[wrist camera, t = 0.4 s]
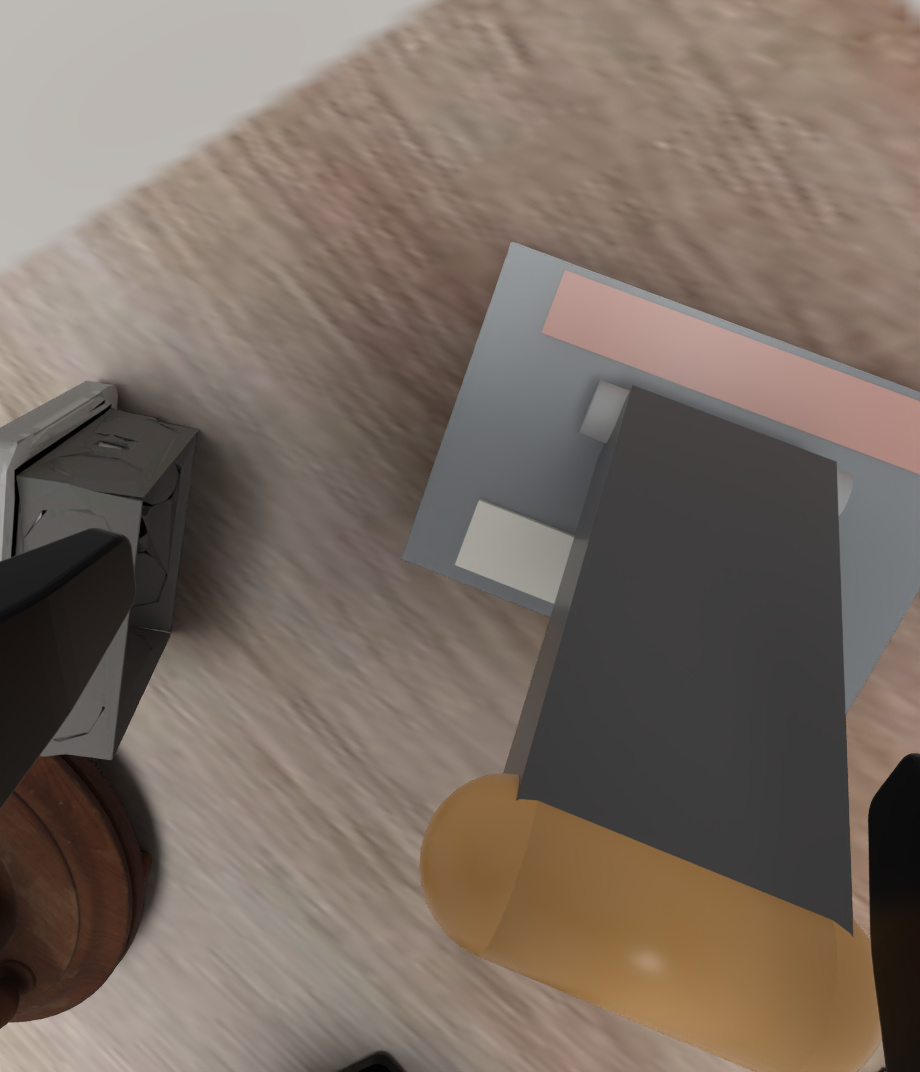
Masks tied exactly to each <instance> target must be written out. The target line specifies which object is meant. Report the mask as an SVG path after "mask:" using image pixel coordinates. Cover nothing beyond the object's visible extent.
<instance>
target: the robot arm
mask: <svg viewBox="0 0 920 1072" xmlns="http://www.w3.org/2000/svg"><path fill="white" fill-rule="evenodd" d="M135 595H136V581H135V572H134V563H133V553H132V546H131V542H130V540H129V539H128V537H126V536H125V535H123V534H120V533H116V532H112V531H109V530H105V529H101V528H90V529H86V530H84V531H81V532H78V533H76V534H73V535H70V536H67V537H65V538H62V539H59V540H57V541H54V542H51V543H49V544H46V545H43V546H40V547H38V548H35V549H32V550H30V551H27V552H24V553H22V554H19V555H16V556H13V557H11V558H8V559H5V560H3V561H0V809H1V808H2V806H3V805H4V804H5V802H6V801H7V800H8V798H9V797H10V796H11V794H12V793H13V791H14V790H15V789H16V787H17V786H18V785H19V783H20V782H21V780H22V779H23V778H24V776H25V775H26V774H27V772H28V771H29V770H30V768H31V767H32V765H33V764H34V763H35V761H36V760H37V759H38V757H39V756H40V755H41V753H42V752H43V750H44V749H45V748H46V746H47V745H48V744H49V742H50V741H51V740H52V738H53V737H54V735H55V734H56V733H57V731H58V730H59V729H60V727H61V726H62V724H63V723H64V721H65V720H66V718H67V717H68V716H69V714H70V713H71V711H72V709H73V708H74V706H75V705H76V703H77V701H78V700H79V698H80V696H81V695H82V693H83V691H84V689H85V688H86V686H87V684H88V683H89V681H90V679H91V677H92V676H93V674H94V672H95V670H96V669H97V667H98V665H99V663H100V662H101V660H102V658H103V656H104V655H105V653H106V651H107V649H108V648H109V646H110V644H111V642H112V641H113V639H114V637H115V635H116V634H117V632H118V630H119V629H120V627H121V625H122V623H123V622H124V620H125V618H126V616H127V615H128V613H129V611H130V609H131V607H132V605H133V602H134V599H135ZM868 834H869V894H870V938H871V955H872V964H873V973H874V981H875V989H876V996H877V1004H878V1012H879V1019H880V1027H881V1034H882V1042H883V1049H884V1057H885V1064H886V1072H920V754H918V753H911V754H909V755H907V756H905V757H904V758H903V759H902V760H901V761H900V763H899V764H898V765H897V767H896V768H895V769H894V771H893V772H892V773H891V774H890V776H889V777H888V778H887V780H886V781H885V782H884V784H883V785H882V786H881V788H880V789H879V790H878V792H877V793H876V794H875V796H874V798H873V800H872V802H871V805H870V808H869V815H868ZM343 1072H401V1071H400V1070H399V1068H398V1067H397V1066H396V1065H395V1064H394V1063H393V1062H392V1061H391V1060H390V1059H389V1058H388V1057H386V1056H383V1055H377V1056H373V1057H371V1058H369V1059H367V1060H365V1061H363V1062H361V1063H359V1064H357V1065H355V1066H353V1067H351V1068H349V1069H347V1070H345V1071H343Z"/></svg>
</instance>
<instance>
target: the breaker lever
mask: <svg viewBox="0 0 920 1072" xmlns="http://www.w3.org/2000/svg"><path fill="white" fill-rule="evenodd" d="M579 433H580V434H582V435H585V436H588V437H590V438H593V439H595V440H598V441H601V442H603V443H605V445H604V447H603V449H602V451H601V453H600V455H599V457H598V460H597V463H596V467H595V470H594V473H593V477H592V480H591V483H590V487H589V490H588V493H587V497H586V500H585V503H584V506H583V510H582V513H581V516H580V520H579V523H578V526H577V530H576V533H575V536H574V540H573V543H572V546H571V550H570V553H569V556H568V560H567V563H566V566H565V570H564V573H563V576H562V580H561V583H560V586H559V590H558V593H557V596H556V600H555V603H554V606H553V610H552V613H551V616H550V620H549V623H548V626H547V630H546V633H545V636H544V640H543V643H542V646H541V650H540V653H539V656H538V660H537V663H536V666H535V670H534V673H533V676H532V680H531V683H530V686H529V690H528V693H527V696H526V700H525V703H524V706H523V710H522V713H521V716H520V720H519V723H518V726H517V730H516V733H515V736H514V740H513V743H512V746H511V750H510V753H509V756H508V759H507V763H506V766H505V769H504V773H500V774H492V775H486V776H483V777H480V778H477V779H474V780H471V781H470V782H468V783H466V784H465V785H463V786H461V787H460V788H458V789H456V790H455V791H454V792H453V793H452V794H451V795H450V796H449V797H448V798H446V799H445V800H444V801H443V803H442V804H441V805H440V807H439V808H438V810H437V811H436V812H435V814H434V815H433V817H432V819H431V821H430V823H429V825H428V827H427V829H426V832H425V836H424V839H423V843H422V847H421V856H420V875H421V885H422V889H423V892H424V895H425V899H426V902H427V905H428V907H429V909H430V911H431V913H432V915H433V917H434V919H435V920H436V922H437V923H438V924H439V925H440V927H441V928H442V929H443V931H444V932H445V933H446V934H447V935H448V936H449V937H450V938H451V939H452V940H453V941H455V942H456V943H457V944H458V945H459V946H460V947H462V948H464V949H466V950H468V951H469V952H471V953H473V954H475V955H477V956H479V957H481V958H484V959H486V960H488V961H491V962H493V963H496V964H498V965H500V966H503V967H505V968H508V969H510V970H512V971H515V972H517V973H520V974H522V975H524V976H527V977H529V978H531V979H534V980H536V981H539V982H541V983H543V984H546V985H548V986H551V987H553V988H555V989H558V990H560V991H563V992H565V993H567V994H570V995H572V996H575V997H577V998H579V999H582V1000H584V1001H587V1002H589V1003H591V1004H594V1005H596V1006H599V1007H601V1008H603V1009H606V1010H608V1011H610V1012H613V1013H615V1014H618V1015H620V1016H622V1017H625V1018H627V1019H630V1020H632V1021H634V1022H637V1023H639V1024H642V1025H644V1026H646V1027H649V1028H651V1029H654V1030H656V1031H658V1032H661V1033H663V1034H666V1035H668V1036H670V1037H673V1038H675V1039H678V1040H680V1041H682V1042H685V1043H687V1044H689V1045H692V1046H694V1047H697V1048H699V1049H701V1050H704V1051H706V1052H709V1053H711V1054H713V1055H716V1056H718V1057H721V1058H723V1059H725V1060H728V1061H730V1062H733V1063H735V1064H737V1065H740V1066H742V1067H745V1068H747V1069H749V1070H752V1071H754V1072H857V1071H858V1070H859V1069H860V1068H862V1067H863V1066H864V1065H865V1064H866V1062H867V1061H868V1060H869V1059H870V1058H871V1056H872V1055H873V1054H874V1052H875V1051H876V1050H877V1048H878V1046H879V1044H880V1042H881V1040H882V1034H881V1027H880V1019H879V1012H878V1004H877V996H876V989H875V981H874V973H873V964H872V955H871V942H870V940H869V938H868V937H867V935H866V934H865V932H864V931H863V930H862V929H861V927H860V926H859V925H858V924H857V923H856V922H855V920H854V919H853V910H852V882H851V854H850V825H849V797H848V768H847V740H846V712H845V683H844V655H843V627H842V598H841V570H840V542H839V516H840V514H841V513H842V511H843V510H844V508H845V506H846V504H847V502H848V499H849V497H850V494H851V491H852V486H853V477H852V475H851V474H850V473H847V472H845V471H842V470H839V469H837V462H836V461H833V460H831V459H828V458H825V457H823V456H820V455H818V454H815V453H812V452H810V451H807V450H804V449H802V448H799V447H796V446H794V445H791V444H788V443H786V442H783V441H780V440H778V439H775V438H772V437H770V436H767V435H764V434H762V433H759V432H756V431H754V430H751V429H748V428H746V427H743V426H740V425H738V424H735V423H732V422H730V421H727V420H724V419H722V418H719V417H716V416H714V415H711V414H708V413H706V412H703V411H700V410H698V409H695V408H693V407H690V406H687V405H685V404H682V403H679V402H677V401H674V400H671V399H669V398H666V397H663V396H661V395H658V394H655V393H653V392H650V391H647V390H645V389H642V388H639V387H637V386H634V385H632V387H631V389H630V391H629V390H627V389H624V388H621V387H619V386H616V385H614V384H611V383H608V382H606V381H603V380H600V381H599V383H598V386H597V388H596V390H595V392H594V395H593V397H592V400H591V402H590V404H589V407H588V409H587V412H586V415H585V417H584V420H583V423H582V425H581V428H580V431H579Z"/></svg>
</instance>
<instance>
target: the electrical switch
mask: <svg viewBox="0 0 920 1072" xmlns="http://www.w3.org/2000/svg"><path fill="white" fill-rule="evenodd" d="M117 404H118V392H117V389H116V386H115V385H111V384H104V383H97V382H91V381H85V382H84V383H82V384H80V385H78V386H76V387H74V388H73V389H71V390H69V391H67V392H65V393H63V394H62V395H60V396H58V397H56V398H54V399H52V400H50V401H49V402H47V403H45V404H43V405H41V406H39V407H38V408H36V409H34V410H32V411H30V412H28V413H27V414H25V415H23V416H21V417H19V418H17V419H16V420H14V421H12V422H10V423H8V424H6V425H4V426H3V427H1V428H0V561H3V560H5V559H8V558H11V557H13V556H16V555H19V554H22V553H24V552H27V551H30V550H32V549H35V548H38V547H40V546H43V545H46V544H49V543H51V542H54V541H57V540H59V539H62V538H65V537H67V536H70V535H73V534H76V533H78V532H81V531H84V530H86V529H90V528H101V529H105V530H109V531H112V532H116V533H120V534H123V535H125V536H126V537H128V539H129V540H130V542H131V546H132V553H133V563H134V572H135V581H136V595H135V599H134V602H133V605H132V607H131V609H130V611H129V613H128V615H127V616H126V618H125V620H124V622H123V623H122V625H121V627H120V629H119V630H118V632H117V634H116V635H115V637H114V639H113V641H112V642H111V644H110V646H109V648H108V649H107V651H106V653H105V655H104V656H103V658H102V660H101V662H100V663H99V665H98V667H97V669H96V670H95V672H94V674H93V676H92V677H91V679H90V681H89V683H88V684H87V686H86V688H85V689H84V691H83V693H82V695H81V696H80V698H79V700H78V701H77V703H76V705H75V706H74V708H73V709H72V711H71V713H70V714H69V716H68V717H67V718H66V720H65V721H64V723H63V724H62V726H61V727H60V729H59V730H58V731H57V733H56V734H55V735H54V737H53V738H52V740H51V741H50V742H49V744H48V745H47V746H46V748H45V749H44V750H43V752H42V753H41V755H40V756H42V757H45V756H53V755H62V754H69V755H76V756H84V757H91V758H99V759H106V760H112V759H113V757H114V755H115V753H116V751H117V749H118V747H119V744H120V742H121V740H122V738H123V736H124V734H125V732H126V729H127V727H128V725H129V723H130V721H131V719H132V717H133V714H134V712H135V710H136V708H137V706H138V704H139V702H140V699H141V697H142V695H143V693H144V691H145V689H146V687H147V684H148V682H149V680H150V678H151V676H152V674H153V672H154V669H155V667H156V665H157V663H158V661H159V659H160V657H161V654H162V652H163V650H164V648H165V646H166V644H167V642H168V639H169V637H170V635H171V633H165V632H160V631H155V630H150V629H157V630H166V631H170V628H171V622H172V615H173V607H174V600H175V593H176V585H177V578H178V571H179V563H180V556H181V548H182V541H183V534H184V526H185V519H186V512H187V504H188V497H189V490H190V482H191V475H192V467H193V460H194V453H195V445H196V438H197V431H198V430H199V429H194V428H189V427H184V426H178V425H173V424H168V423H163V422H161V421H159V420H158V419H157V418H154V417H149V416H144V415H139V414H133V413H128V412H125V411H121V410H118V409H117ZM175 465H176V466H175ZM176 467H177V468H178V469H179V471H180V475H179V473H178V470H177V468H176ZM173 491H174V493H173V496H172V498H171V499H169V500H167V499H168V498H169V496H170V495H171V494H172V492H173ZM143 502H146V503H149V504H156V505H154V506H142V505H143ZM158 503H159V504H158ZM141 518H143V520H144V523H145V525H146V530H145V532H144V535H143V537H142V538H139V530H140V522H141ZM137 551H139V552H144V551H147V552H148V553H149V554H150V556H151V557H150V556H149V555H147V554H146V553H137ZM165 573H166V574H167V578H166V577H165ZM149 603H151V604H149ZM146 604H147V605H146ZM139 627H141V628H139ZM145 628H149V629H145Z"/></svg>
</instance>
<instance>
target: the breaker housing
mask: <svg viewBox="0 0 920 1072" xmlns="http://www.w3.org/2000/svg"><path fill="white" fill-rule="evenodd" d="M600 380H603V381H606V382H608V383H611V384H614V385H616V386H619V387H621V388H624V389H627V390H629V391H630V389H631V387H632V385H634V386H637V387H639V388H642V389H645V390H647V391H650V392H653V393H655V394H658V395H661V396H663V397H666V398H669V399H671V400H674V401H677V402H679V403H682V404H685V405H687V406H690V407H693V408H695V409H698V410H700V411H703V412H706V413H708V414H711V415H714V416H716V417H719V418H722V419H724V420H727V421H730V422H732V423H735V424H738V425H740V426H743V427H746V428H748V429H751V430H754V431H756V432H759V433H762V434H764V435H767V436H770V437H772V438H775V439H778V440H780V441H783V442H786V443H788V444H791V445H794V446H796V447H799V448H802V449H804V450H807V451H810V452H812V453H815V454H818V455H820V456H823V457H825V458H828V459H831V460H833V461H836V462H837V469H839V470H842V471H845V472H847V473H850V474H851V475H852V477H853V486H852V491H851V494H850V497H849V499H848V502H847V504H846V506H845V508H844V510H843V511H842V513H841V514H840V516H839V542H840V570H841V598H842V627H843V655H844V683H845V712H846V714H847V712H848V710H849V709H850V707H851V705H852V703H853V702H854V700H855V698H856V697H857V695H858V693H859V692H860V690H861V688H862V686H863V685H864V683H865V681H866V680H867V678H868V676H869V675H870V673H871V671H872V669H873V668H874V666H875V664H876V663H877V661H878V659H879V658H880V656H881V654H882V652H883V651H884V649H885V647H886V646H887V644H888V642H889V641H890V639H891V637H892V635H893V634H894V632H895V630H896V629H897V627H898V625H899V624H900V622H901V620H902V618H903V617H904V615H905V613H906V612H907V610H908V608H909V607H910V605H911V603H912V601H913V600H914V598H915V596H916V595H917V593H918V591H919V590H920V392H918V391H916V390H913V389H910V388H907V387H905V386H902V385H899V384H897V383H894V382H891V381H889V380H886V379H883V378H880V377H878V376H875V375H872V374H870V373H867V372H864V371H861V370H859V369H856V368H853V367H851V366H848V365H845V364H843V363H840V362H837V361H834V360H832V359H829V358H826V357H824V356H821V355H818V354H815V353H813V352H810V351H807V350H805V349H802V348H799V347H796V346H794V345H791V344H788V343H786V342H783V341H780V340H778V339H775V338H772V337H769V336H767V335H764V334H761V333H759V332H756V331H753V330H750V329H748V328H745V327H742V326H740V325H737V324H734V323H732V322H729V321H726V320H723V319H721V318H718V317H715V316H713V315H710V314H707V313H704V312H702V311H699V310H696V309H694V308H691V307H688V306H686V305H683V304H680V303H677V302H675V301H672V300H669V299H667V298H664V297H661V296H658V295H656V294H653V293H650V292H648V291H645V290H642V289H640V288H637V287H634V286H631V285H629V284H626V283H623V282H621V281H618V280H615V279H612V278H610V277H607V276H604V275H602V274H599V273H596V272H593V271H591V270H588V269H585V268H583V267H580V266H577V265H575V264H572V263H569V262H566V261H564V260H561V259H558V258H556V257H553V256H550V255H547V254H545V253H542V252H539V251H537V250H534V249H531V248H529V247H526V246H523V245H520V244H518V243H515V242H511V245H510V248H509V250H508V253H507V256H506V259H505V262H504V265H503V268H502V271H501V273H500V276H499V279H498V282H497V285H496V288H495V291H494V294H493V296H492V299H491V302H490V305H489V308H488V311H487V314H486V317H485V319H484V322H483V325H482V328H481V331H480V334H479V337H478V339H477V342H476V345H475V348H474V351H473V354H472V357H471V360H470V362H469V365H468V368H467V371H466V374H465V377H464V380H463V383H462V385H461V388H460V391H459V394H458V397H457V400H456V403H455V406H454V408H453V411H452V414H451V417H450V420H449V423H448V426H447V428H446V431H445V434H444V437H443V440H442V443H441V446H440V449H439V451H438V454H437V457H436V460H435V463H434V466H433V469H432V472H431V474H430V477H429V480H428V483H427V486H426V489H425V492H424V495H423V497H422V500H421V503H420V506H419V509H418V512H417V515H416V517H415V520H414V523H413V526H412V529H411V532H410V535H409V538H408V540H407V543H406V546H405V549H404V552H403V555H402V558H401V559H403V560H405V561H408V562H410V563H413V564H415V565H418V566H420V567H423V568H425V569H428V570H431V571H433V572H436V573H438V574H441V575H443V576H446V577H448V578H451V579H453V580H456V581H458V582H461V583H464V584H466V585H469V586H471V587H474V588H476V589H479V590H481V591H484V592H486V593H489V594H492V595H494V596H497V597H499V598H502V599H504V600H507V601H509V602H512V603H514V604H517V605H519V606H522V607H525V608H527V609H530V610H532V611H535V612H537V613H540V614H542V615H545V616H547V617H550V616H551V613H552V610H553V606H554V603H555V600H556V596H557V593H558V590H559V586H560V583H561V580H562V576H563V573H564V570H565V566H566V563H567V560H568V556H569V553H570V550H571V546H572V543H573V540H574V536H575V533H576V530H577V526H578V523H579V520H580V516H581V513H582V510H583V506H584V503H585V500H586V497H587V493H588V490H589V487H590V483H591V480H592V477H593V473H594V470H595V467H596V463H597V460H598V457H599V455H600V453H601V451H602V449H603V447H604V445H605V443H603V442H601V441H598V440H595V439H593V438H590V437H588V436H585V435H582V434H580V433H579V431H580V428H581V425H582V423H583V420H584V417H585V415H586V412H587V409H588V407H589V404H590V402H591V400H592V397H593V395H594V392H595V390H596V388H597V386H598V383H599V381H600Z"/></svg>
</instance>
